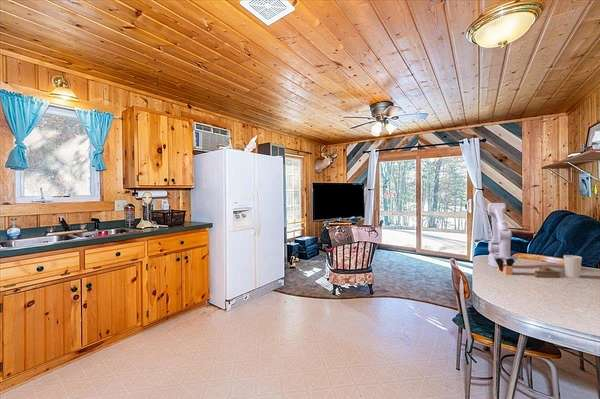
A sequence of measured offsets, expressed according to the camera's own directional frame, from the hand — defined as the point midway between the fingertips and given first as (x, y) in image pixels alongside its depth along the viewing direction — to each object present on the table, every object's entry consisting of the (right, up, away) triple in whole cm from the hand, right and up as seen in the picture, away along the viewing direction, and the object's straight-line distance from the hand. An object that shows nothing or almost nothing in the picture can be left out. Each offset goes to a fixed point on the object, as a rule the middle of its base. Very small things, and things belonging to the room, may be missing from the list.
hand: (504, 270), depth 177 cm
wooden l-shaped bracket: (+19, -1, -4) cm, 19 cm away
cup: (+34, -1, -9) cm, 36 cm away
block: (0, -2, 0) cm, 2 cm away
